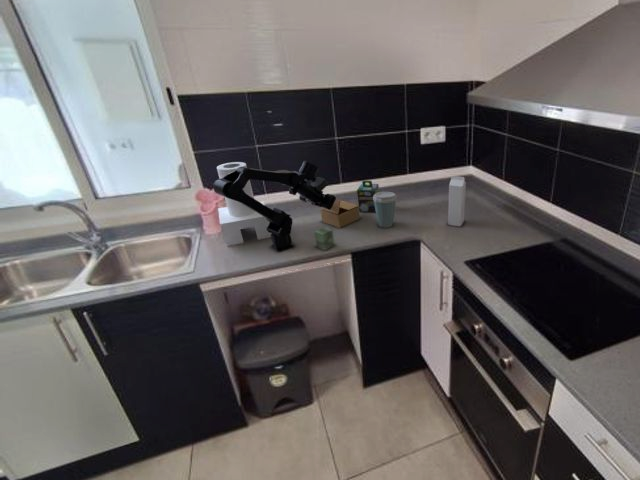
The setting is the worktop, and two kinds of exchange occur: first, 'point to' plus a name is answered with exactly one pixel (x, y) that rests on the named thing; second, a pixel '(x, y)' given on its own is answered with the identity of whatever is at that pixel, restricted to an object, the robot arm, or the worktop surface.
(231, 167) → the paper towel holder
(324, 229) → the block
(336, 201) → the flap
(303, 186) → the robot arm
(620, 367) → the worktop surface
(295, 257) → the worktop surface
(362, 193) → the chalk box
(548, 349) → the worktop surface
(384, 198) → the disposable coffee cup
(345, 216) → the carton
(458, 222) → the milk
